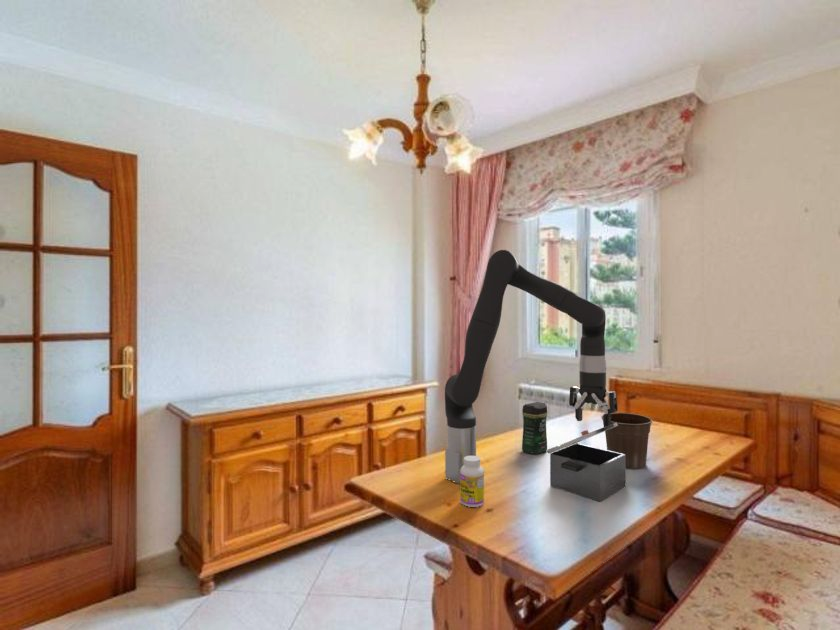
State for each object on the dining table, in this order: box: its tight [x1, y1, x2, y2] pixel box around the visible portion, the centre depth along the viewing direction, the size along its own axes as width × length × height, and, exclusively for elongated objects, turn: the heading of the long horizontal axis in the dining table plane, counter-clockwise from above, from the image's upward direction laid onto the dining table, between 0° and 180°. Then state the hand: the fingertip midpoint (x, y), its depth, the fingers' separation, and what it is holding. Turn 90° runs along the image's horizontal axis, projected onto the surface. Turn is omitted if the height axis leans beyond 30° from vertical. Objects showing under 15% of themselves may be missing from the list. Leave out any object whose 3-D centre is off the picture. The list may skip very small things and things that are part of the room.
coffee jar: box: [521, 401, 548, 455], centre depth 176 cm, size 10×8×19 cm
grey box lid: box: [546, 423, 618, 454], centre depth 142 cm, size 16×19×2 cm
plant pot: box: [600, 412, 653, 470], centre depth 161 cm, size 16×16×16 cm
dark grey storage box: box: [549, 442, 627, 503], centre depth 141 cm, size 22×16×10 cm
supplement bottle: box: [459, 455, 485, 508], centre depth 130 cm, size 7×7×13 cm
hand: (592, 423), depth 140 cm, fingers open, 8 cm apart
